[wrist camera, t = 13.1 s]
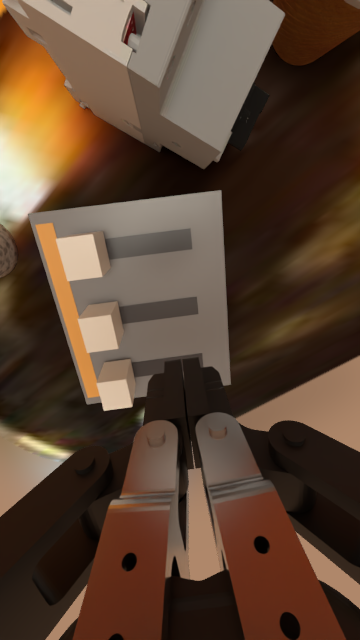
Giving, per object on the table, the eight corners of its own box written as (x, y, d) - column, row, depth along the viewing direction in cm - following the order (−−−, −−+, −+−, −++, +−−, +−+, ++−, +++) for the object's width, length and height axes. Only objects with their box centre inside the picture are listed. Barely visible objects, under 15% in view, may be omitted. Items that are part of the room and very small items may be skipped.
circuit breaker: (212, 182, 28) (263, 153, 14) (80, 106, 25) (-21, -27, 11) (249, 105, 26) (352, -20, 12) (109, 10, 23) (27, -312, 9)
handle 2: (130, 358, 30) (126, 379, 27) (135, 384, 32) (132, 406, 28) (104, 362, 30) (96, 383, 27) (110, 387, 32) (104, 410, 28)
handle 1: (102, 231, 25) (92, 234, 21) (110, 267, 26) (102, 276, 23) (71, 234, 25) (55, 238, 21) (80, 271, 26) (67, 281, 23)
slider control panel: (213, 193, 28) (221, 190, 25) (223, 367, 37) (230, 385, 33) (45, 213, 28) (27, 213, 24) (94, 384, 36) (86, 404, 33)
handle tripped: (117, 301, 28) (110, 314, 24) (123, 331, 29) (118, 348, 25) (88, 304, 28) (77, 319, 24) (96, 335, 29) (87, 352, 25)
